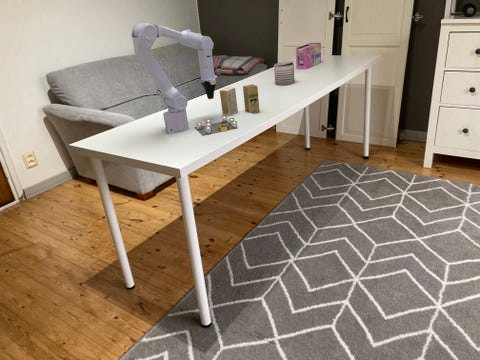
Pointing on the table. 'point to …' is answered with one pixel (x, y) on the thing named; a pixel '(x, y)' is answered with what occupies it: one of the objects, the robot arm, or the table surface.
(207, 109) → the table surface
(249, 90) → the shoe polish box
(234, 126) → the spacers
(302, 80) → the table surface
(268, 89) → the table surface
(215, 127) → the mat
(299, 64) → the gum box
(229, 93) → the skincare box
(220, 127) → the nut
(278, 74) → the can
